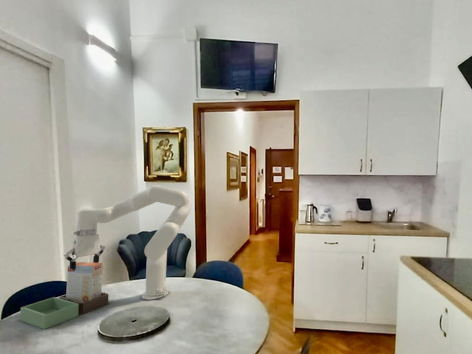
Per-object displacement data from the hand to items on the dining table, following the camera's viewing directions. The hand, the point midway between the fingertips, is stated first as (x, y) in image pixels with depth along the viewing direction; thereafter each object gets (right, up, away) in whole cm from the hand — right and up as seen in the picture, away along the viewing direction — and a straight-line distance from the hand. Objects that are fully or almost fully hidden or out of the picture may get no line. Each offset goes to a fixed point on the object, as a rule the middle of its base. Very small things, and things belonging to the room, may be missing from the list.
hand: (84, 266), depth 127 cm
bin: (-4, -19, -13) cm, 23 cm away
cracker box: (0, -20, -1) cm, 20 cm away
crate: (0, -20, -1) cm, 20 cm away
